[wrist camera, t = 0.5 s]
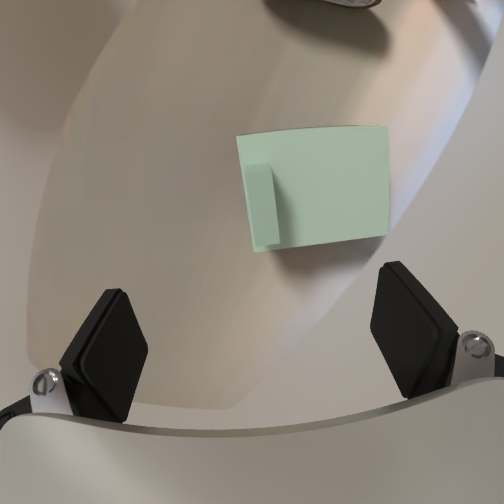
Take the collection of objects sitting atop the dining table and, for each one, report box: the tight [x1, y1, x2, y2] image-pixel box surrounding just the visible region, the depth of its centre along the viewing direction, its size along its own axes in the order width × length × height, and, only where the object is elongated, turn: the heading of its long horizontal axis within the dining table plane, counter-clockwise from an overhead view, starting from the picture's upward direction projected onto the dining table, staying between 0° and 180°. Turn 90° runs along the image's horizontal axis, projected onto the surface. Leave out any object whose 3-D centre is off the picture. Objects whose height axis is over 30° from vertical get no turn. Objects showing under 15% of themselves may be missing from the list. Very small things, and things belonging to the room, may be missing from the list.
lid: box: [236, 126, 390, 253], centre depth 24 cm, size 14×11×7 cm
